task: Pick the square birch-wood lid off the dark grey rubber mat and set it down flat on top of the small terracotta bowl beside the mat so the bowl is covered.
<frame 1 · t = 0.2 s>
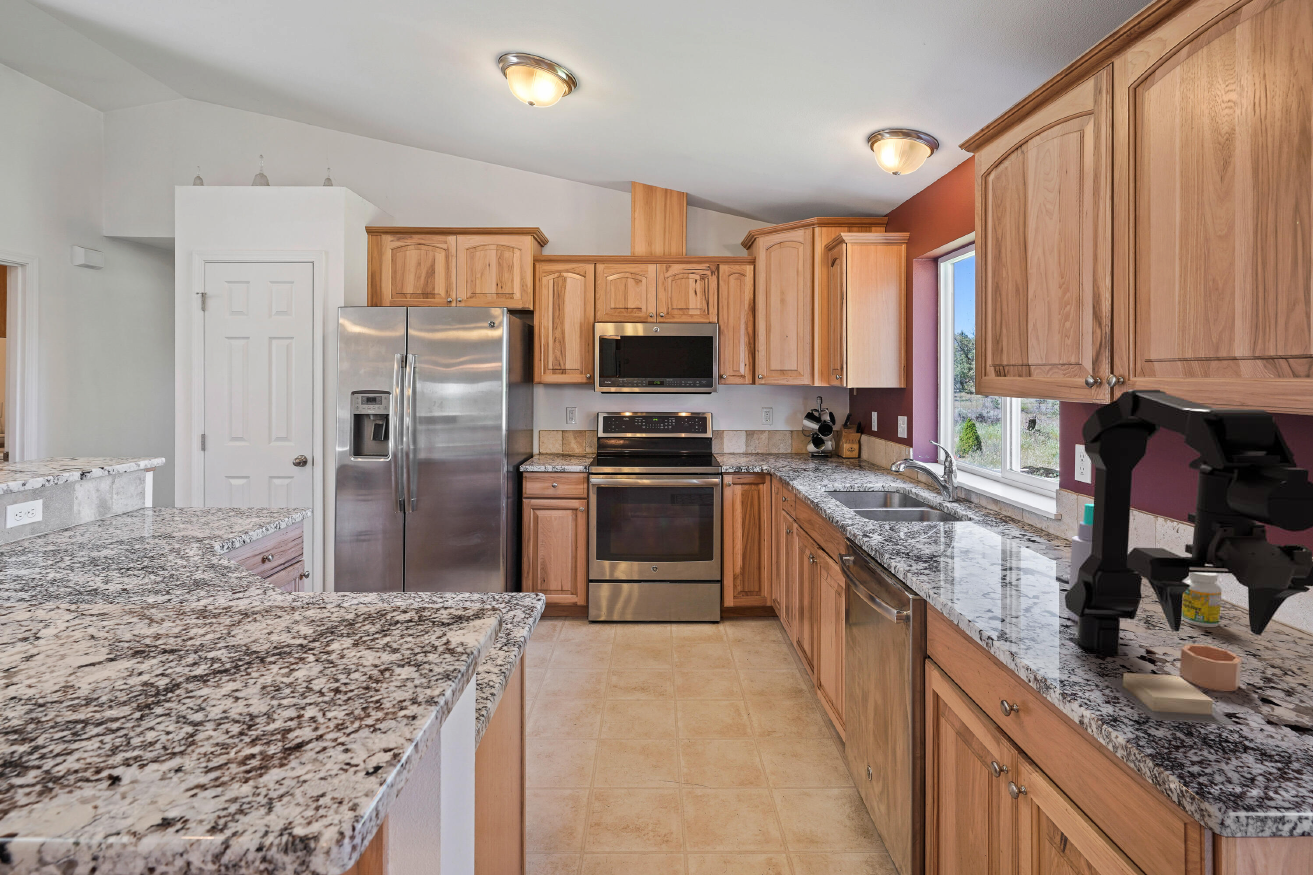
hand: (1214, 631, 81), 14 cm above the countertop, tool pointing down, fingers open, 9 cm apart
mat: (1165, 702, 91), on the countertop
supplement bottle: (1199, 623, 120), on the countertop
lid: (1165, 699, 91), resting on mat
bowl: (1208, 684, 96), on the countertop
spray bottle: (1086, 620, 122), on the countertop
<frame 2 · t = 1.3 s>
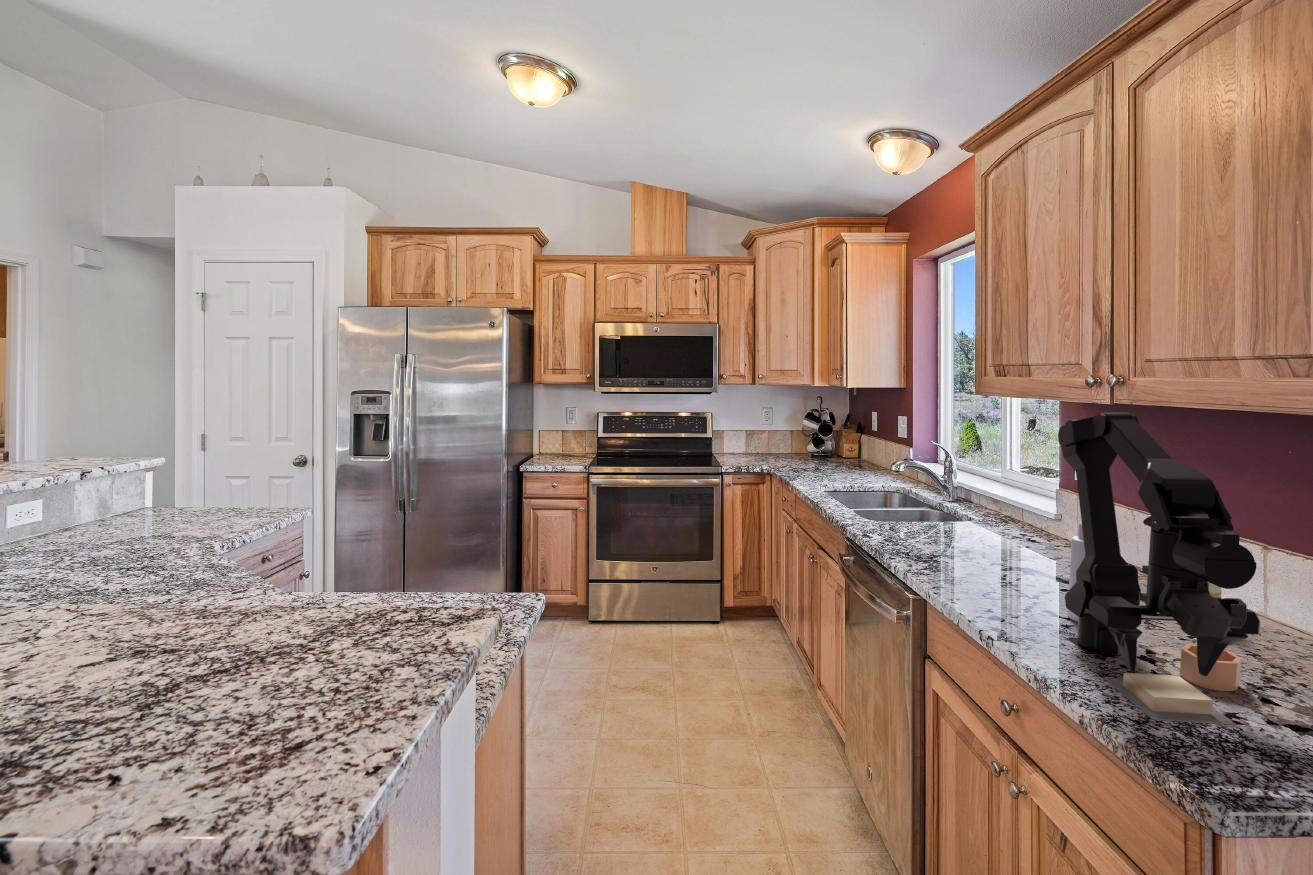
hand: (1166, 672, 90), 4 cm above the countertop, tool pointing down, fingers open, 9 cm apart
nothing on the countertop moved.
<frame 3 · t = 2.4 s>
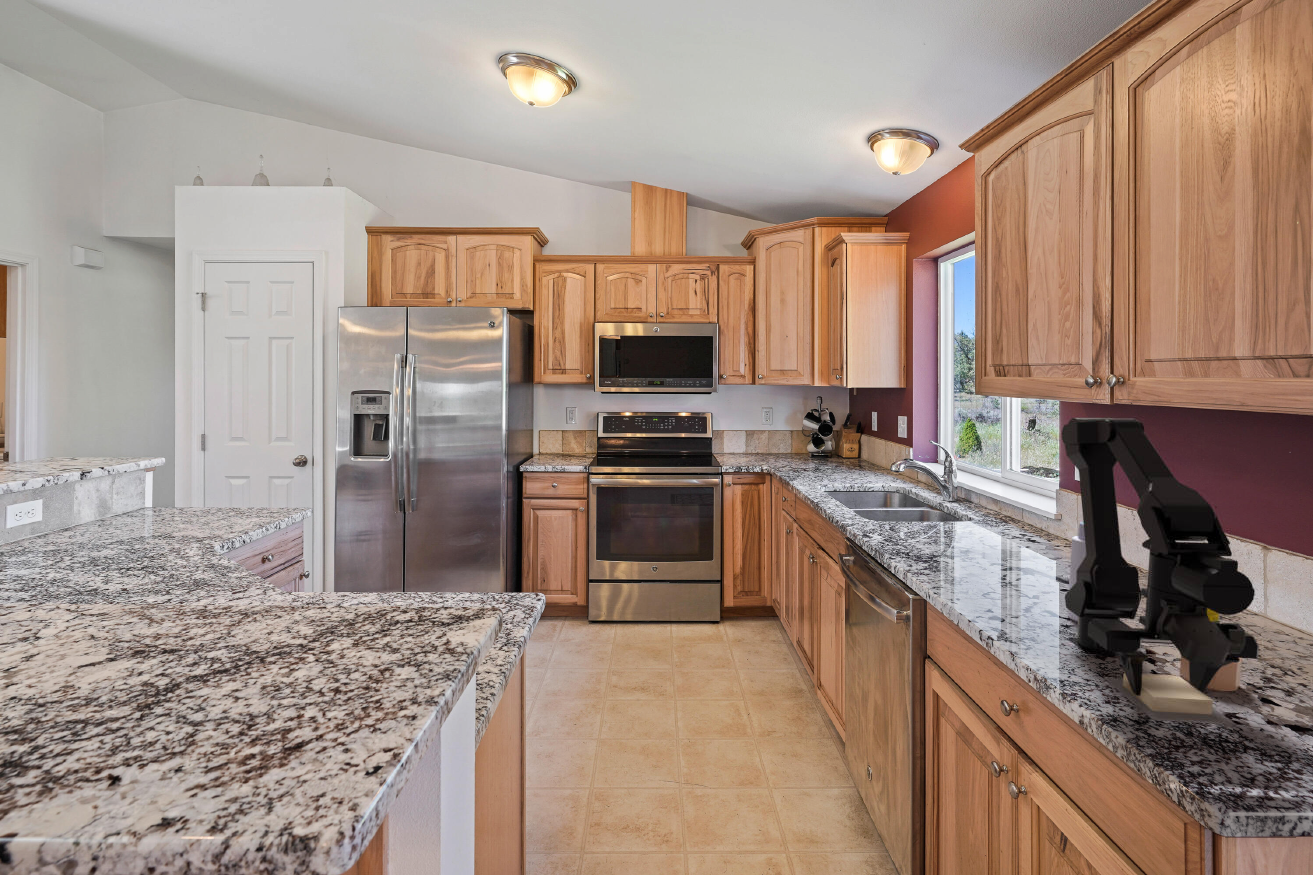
hand: (1165, 695, 91), 1 cm above the countertop, tool pointing down, fingers closed on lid, 7 cm apart
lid: (1165, 699, 91), resting on mat, touching gripper
everything else where it was.
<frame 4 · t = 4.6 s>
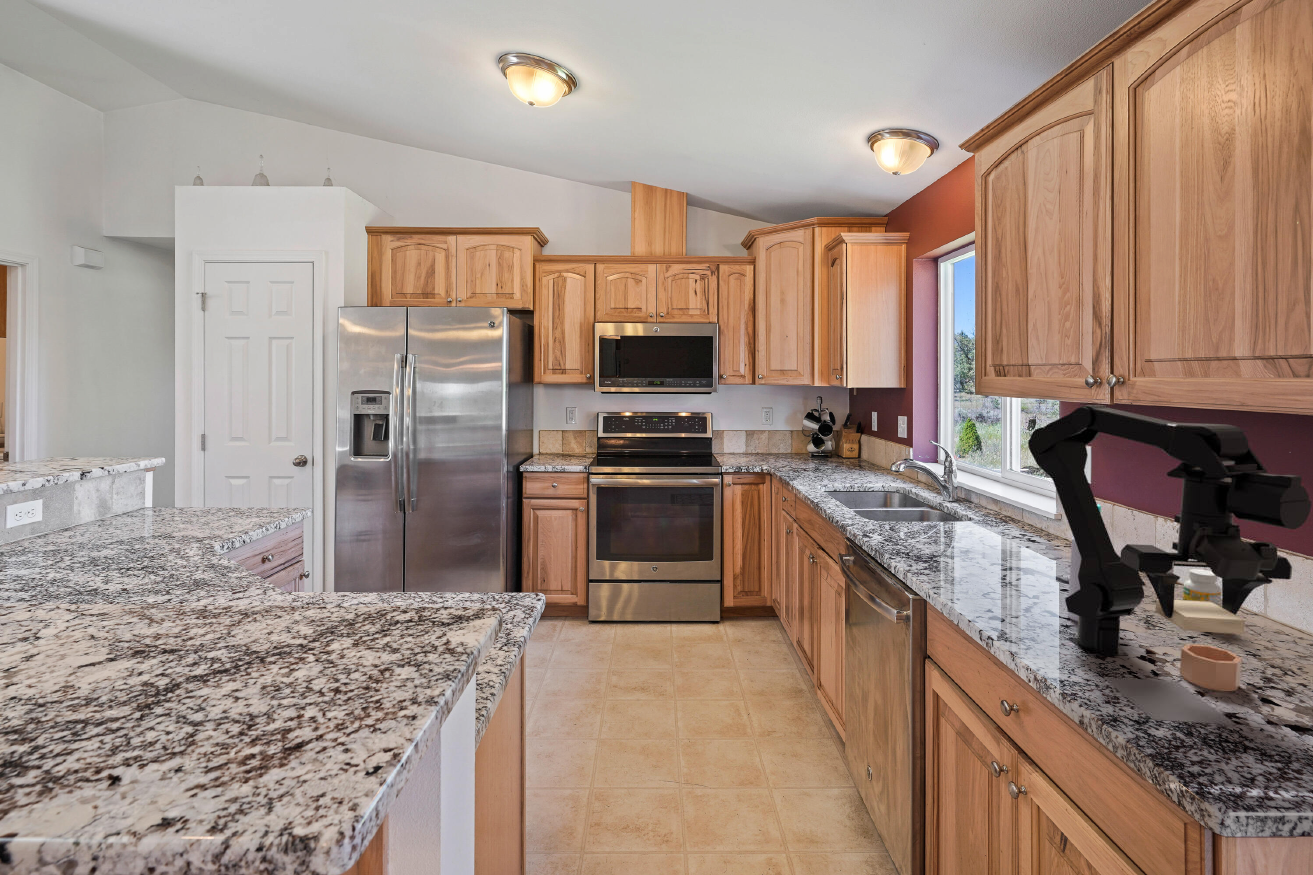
hand: (1197, 618, 93), 11 cm above the countertop, tool pointing down, fingers closed on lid, 7 cm apart
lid: (1197, 622, 93), point 10 cm above the countertop, touching gripper
everything else where it was.
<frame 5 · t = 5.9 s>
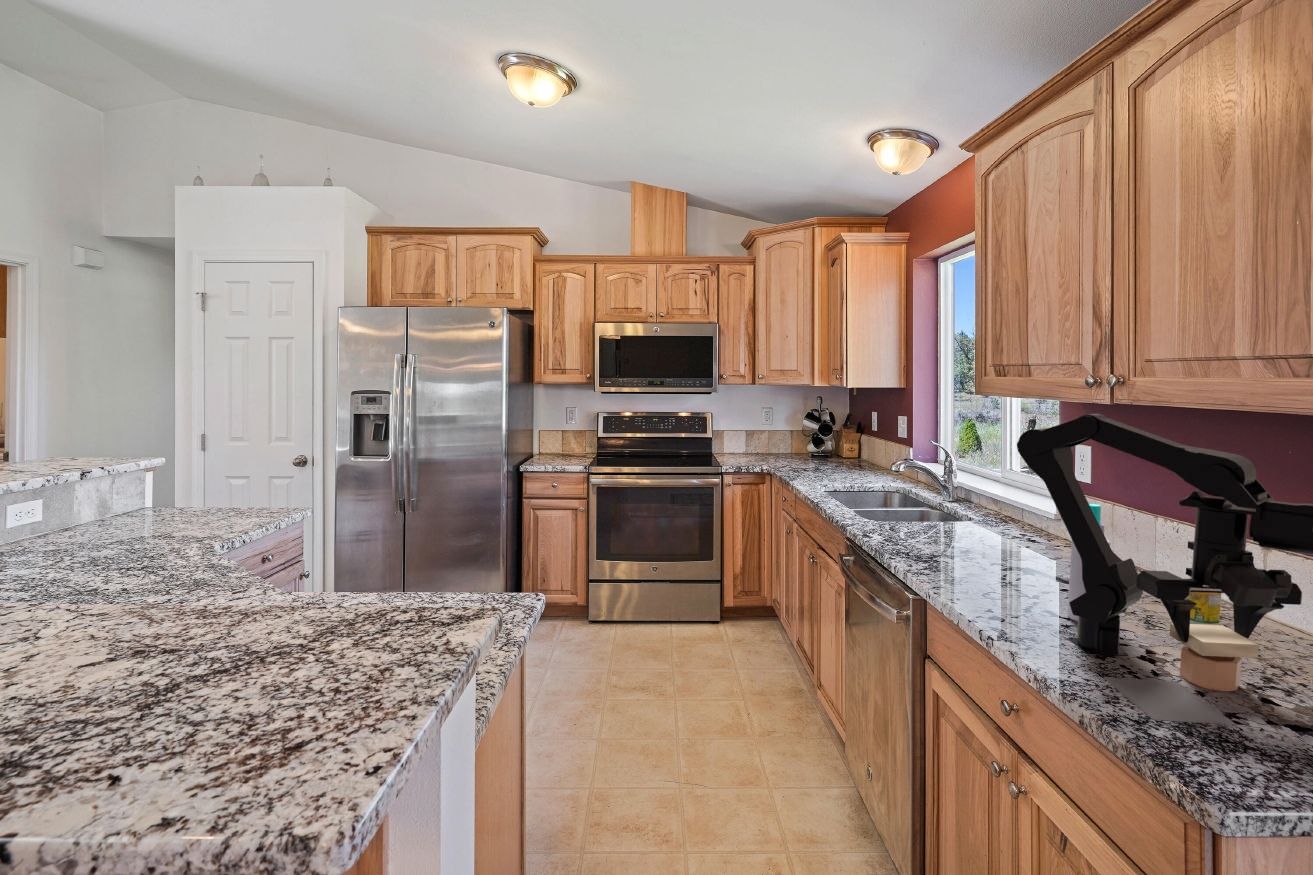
hand: (1211, 642, 96), 6 cm above the countertop, tool pointing down, fingers closed on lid, 7 cm apart
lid: (1211, 646, 96), point 6 cm above the countertop, touching gripper
everything else where it was.
when the fingers open (6 cm above the countertop, at t = 6.7 s): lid drops 1 cm, resting on bowl.
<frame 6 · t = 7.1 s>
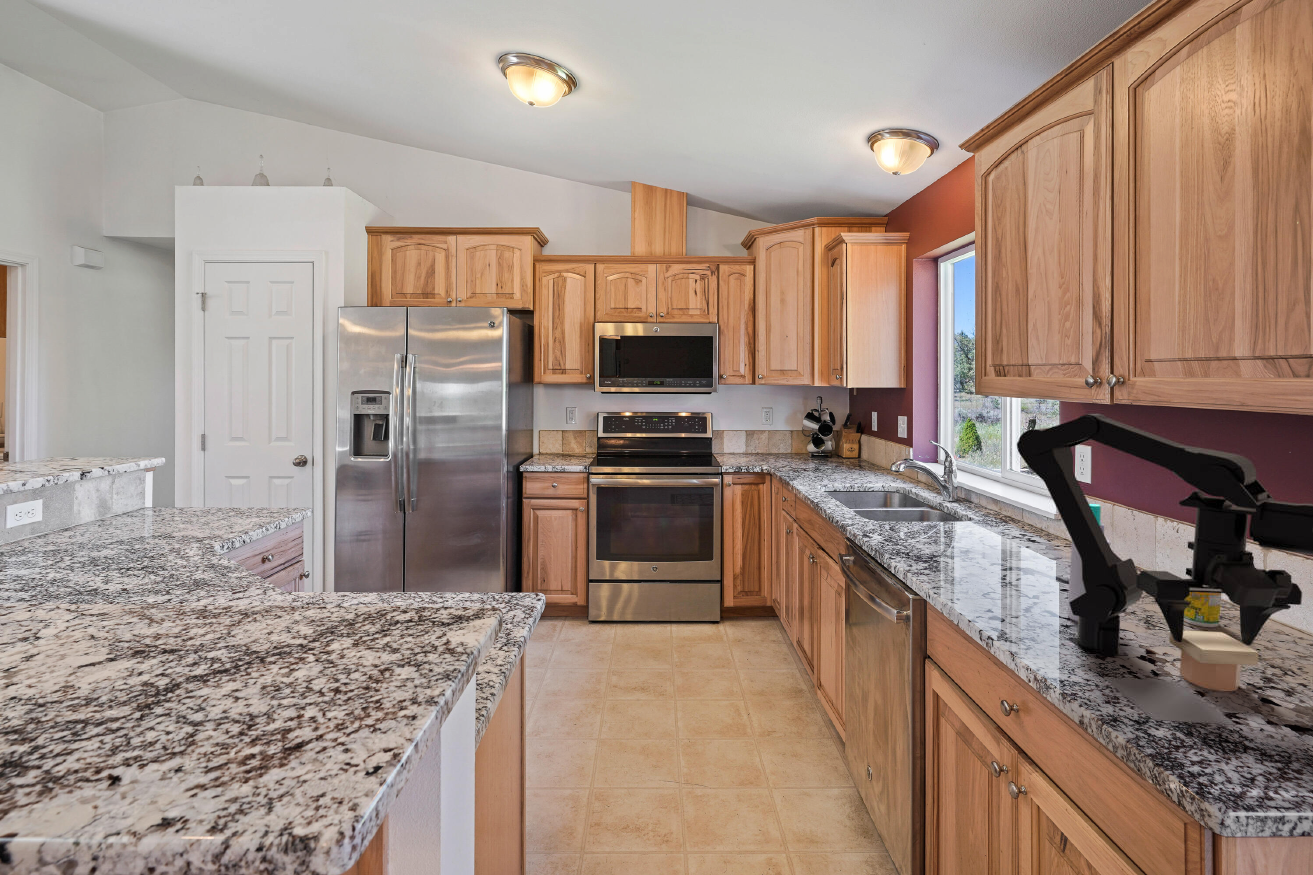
hand: (1211, 642, 96), 6 cm above the countertop, tool pointing down, fingers open, 9 cm apart
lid: (1211, 653, 96), point 5 cm above the countertop, touching bowl
bowl: (1208, 684, 96), on the countertop, touching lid
everything else where it was.
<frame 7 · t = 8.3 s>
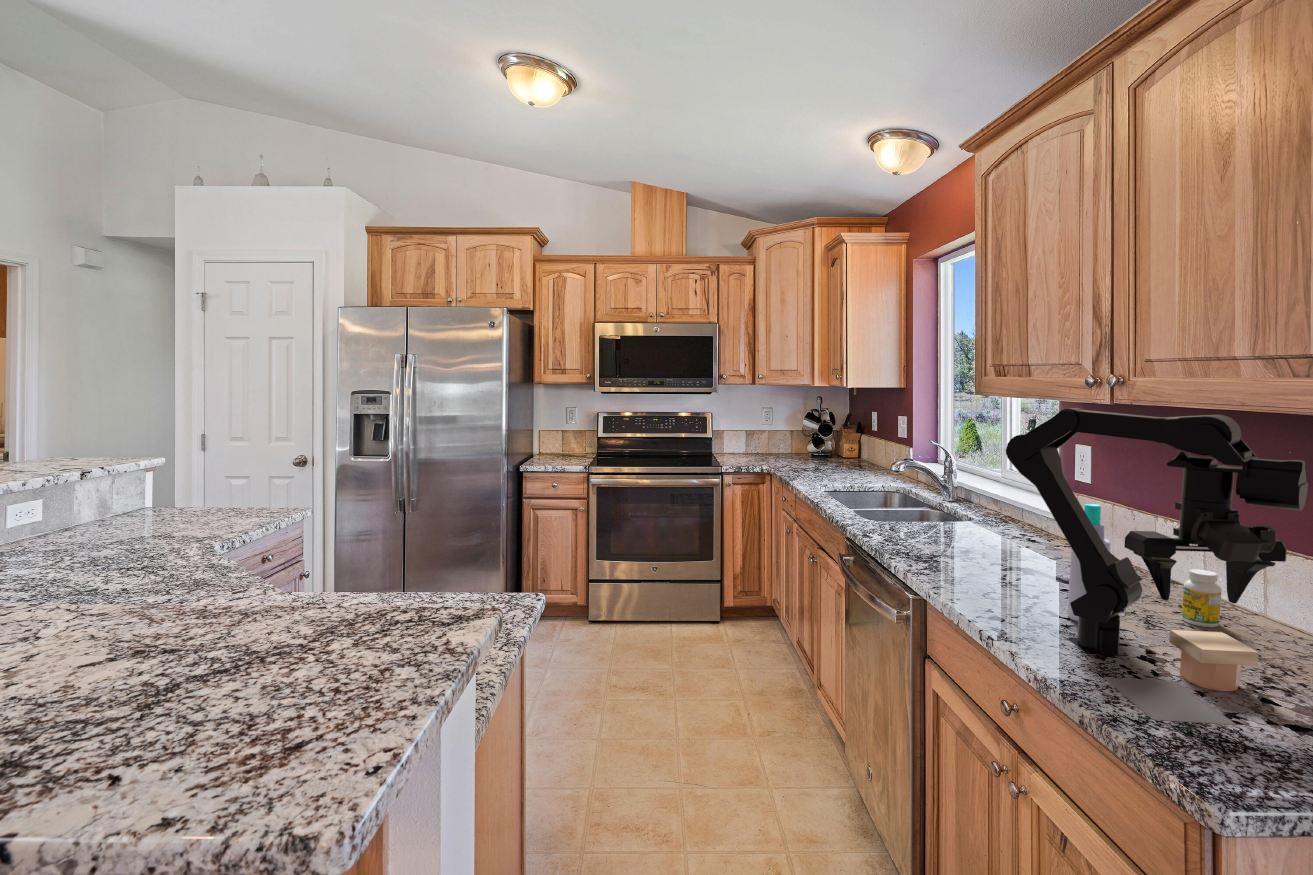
hand: (1198, 601, 97), 12 cm above the countertop, tool pointing down, fingers open, 9 cm apart
nothing on the countertop moved.
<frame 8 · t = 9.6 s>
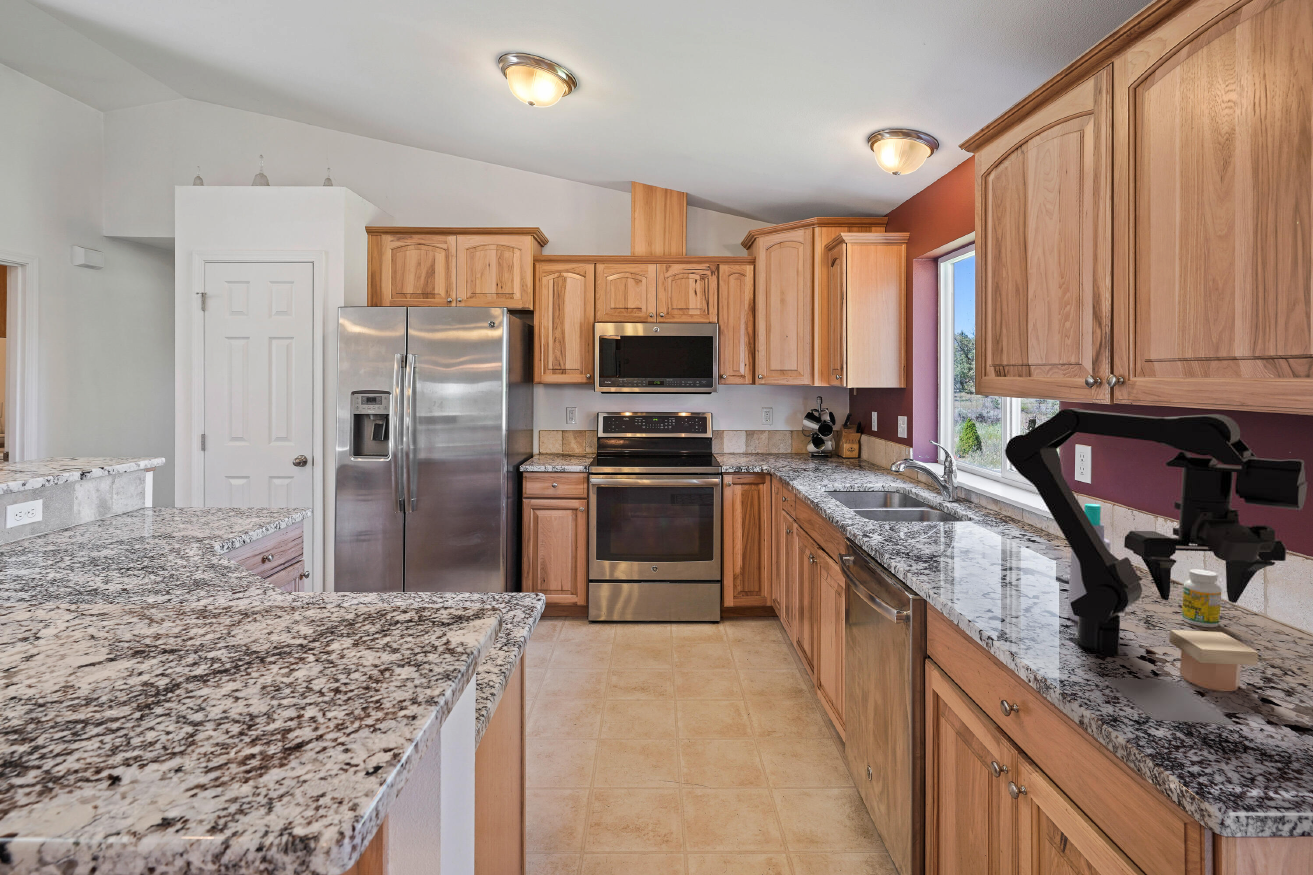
hand: (1198, 600, 97), 12 cm above the countertop, tool pointing down, fingers open, 9 cm apart
nothing on the countertop moved.
at the end: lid 0.0 cm off-centre on the bowl, point 4.8 cm above the bowl's base; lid tilted 0°; the gripper is holding nothing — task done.
